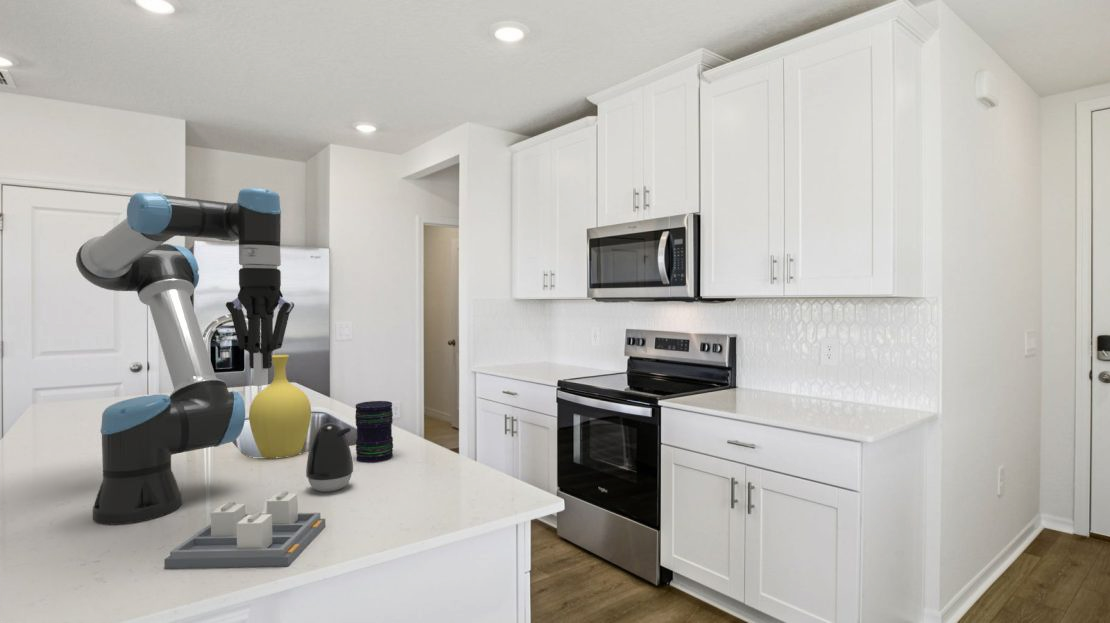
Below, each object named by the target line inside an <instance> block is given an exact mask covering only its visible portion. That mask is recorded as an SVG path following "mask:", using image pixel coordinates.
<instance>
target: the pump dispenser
mask: <svg viewBox="0 0 1110 623" xmlns="http://www.w3.org/2000/svg"><path fill="white" fill-rule="evenodd" d="M351 431H352V429H351V428H350V426H349V427H345V428H341V427H340V426H339V425H338V424H336V423H333V422H331V423H330V422H328V423H325V424H323V425H321V426H320V427H319V428H318V429H317V430H316V433H315V434H314V436H313V438H312V442H311V445H310V447H309V452H308V455H307V460H306V468H305V476H306V478H307V480H308V483H309V485H310V486H311V487H312V488H313V489H314V490H315V491H318V492H321V493H331V492H336V491H339V490H341V489H344V487H346V486H347V485H348V483H349V482H350V480H351V477H352V474H353V472H354V464H353V458H352V452H351V448H350V445H349V441H348V439H347V437H346V434H348V433H350V432H351Z"/></svg>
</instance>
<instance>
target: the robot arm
mask: <svg viewBox="0 0 1110 623" xmlns="http://www.w3.org/2000/svg"><path fill="white" fill-rule="evenodd" d="M281 213H282V210H281V199H280V195H279V193H277V192H276V191H274V190H272V189H271V190H270V189H265V188H255V187H254V188H250V187H249V188H242V189H240V190H239V192H238V196H237V200H236V202H226V201H225V202H223V201H215V200H206V199H197V198H189V197H182V196H177V195H176V196H175V195H166V194H161V193H156V192H154V193H149V192H148V193H147V192H136V193H134V194H132V196H130V198H129V201H128V202H127V207H126V218H125V219H123V221H121V222H120V223H118V224H117V225H116V226H115V227H113V228H112V229H110V230H109V231H108V232H106V233H105V234H104V235H99V236H95V237H91V238H90V239H88V240H86V241H85V242H84V243H83V244H82V245H81V246H80V247H79V249H78V251H77V253H76V258H75V263H76V267H77V269H78V271H79V273H80V274H81V275H82V277H83V278H84V279H86V280H87V281H88V282H90V283H91V284H93V285H95V286H97V287H99V288H101V289H104V290H108V291H115V292H137V297H138V300H139V301H140V302H141V303H142V304H144V305H145V306H149V310H150V313H151V314H150V315H151V317H152V320H153V323H154V327H155V329H156V334H157V337H158V340H159V344H160V346H161V347H160V348H161V349H162V352H163V357H164V360H165V363H166V367H167V370H168V373H169V377H170V381H171V384H172V388H173V391H172V392H171V393H170V395H168V394H161V393H160V394H151V395H141V396H138V397H137V396H136V397H132V398H129V399H123V400H121V401H118V402H115V403H113V404H111V405H108V406H107V407H106V408H105V409H104V411H103V412H102V414H101V415H102V416H101V427H100V434H101V453H102V454H101V455H102V457H101V458H102V459H101V460H102V482H101V484H100V486H99V490H98V493H97V495H96V498H95V501H94V504H93V506H92V520H93V522H95V523H97V524H102V525H123V524H130V523H137V522H143V521H146V520H147V521H148V520H151V519H155V518H160V517H162V516H165V515H167V514H170V513H172V512H174V511H176V510H178V509H179V508H180V507H182V506H181V505H182V503H183V502H182V501H183V500H182V499H183V498H182V491H181V490H180V487H179V485H178V483H177V480H176V477H175V475H174V472H173V469H172V456H173V455H176V454H181V453H187V452H193V451H197V450H203V449H207V448H212V447H215V448H216V447H217V448H218V447H220V446H221V445H226V444H229V443H232V442H235V441H236V440H237V439H238V438H239V437H240V436H241V433H242V432H243V429H244V427H245V426H244V425H245V422H246V405H245V402H244V398H243V396H242V395H241V394H240V392H238V391H232V390H231V391H229V389H228V387H227V384H226V381H224V380H222V379H219V378H218V377H217V376H216V373H215V371H214V368H213V364H212V361H211V358H210V355H209V352H208V348H207V345H206V343H205V340H204V337H203V336H204V335H203V333H202V331H201V327H200V324H199V322H198V318H197V315H196V312H195V309H194V306H193V303H192V300H191V297H192V295H193V294H194V293H195V289H196V288H197V286H198V284H199V280H200V274H199V270H200V268H199V264H198V262H197V259H196V257H195V255H194V254H193V253H192V251H190V250H189V249H188V248H186V247H184V246H181V245H174V244H173V245H172V244H169V243H165V242H167V241H169V240H170V239H173V238H174V237H177V236H178V237H192V238H206V239H215V240H219V241H228V242H234V241H238V264H239V265H240V266H242V267H241V268H239V270H238V286H239V291H238V293H237V297H236V298H235V299H233V300H232V301H227V302H226V303H225V306H226V307H225V308H227V310H228V311H229V313H230V315H231V320H232V323H233V327H234V331H235V335H236V339H237V340H236V341H237V343H238V348H239V349H240V350H244V351H246V352H248V354H249V357H248V358H249V368H250V369H253V386H254V387H261V386H265V385H268V384H269V370H268V369H271V368H272V366H273V362H272V355H273V351H274V352H275V351H276V350H278V349H279V350H280V349H282V347H283V342H284V338H285V334H286V329H287V324H288V321H289V316H290V314H291V312H292V310H293V309H294V307H295V304H294V302H292V301H291V302H289V301H288V300H286V299H285V298H284V297H283V296H284V295H283V293H282V292H281V285H282V281H281V280H282V276H281V275H282V272H281V270H280V268H279V269H278V267H280V266H281V265H282V264H281V263H282V260H281V259H282V256H281V228H282V227H281V226H282V225H281V223H282V222H281V221H282V220H281V219H282V216H281V215H282V214H281ZM243 308H244V310H246V318H247V322H246V318H245V313H244V310H243ZM277 308H278V309H279V310H278V312H277V316H276V318H275V322H274V321H273V320H274V317H275V312H274V311H275V310H276V309H277ZM273 323H275V324H274V325H273Z"/></svg>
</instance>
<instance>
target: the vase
mask: <svg viewBox="0 0 1110 623" xmlns="http://www.w3.org/2000/svg"><path fill="white" fill-rule="evenodd" d="M289 357H290V355H289V354H272V366H273V370H274V371H273V373H274V375H273V380H272V381H271V383H270V384H269V385H268V386H266V387H265V388H263V389H262V390H261V391H259V392H258V393H257V394H256V395H255V397H254V398H253V399H252V401H251V404H250V405H249V406H250V408H249V411H248V421H249V427H250V430H251V434H252V437H253V439H254V443H255V446H256V447H257V449H258V452H259V454H260V456H261V457H262V458H263V459H264V458H265V459H271V458H273V459H277V458H276V457H285V458H287V457H286V456H291V457H294V456H297V455H300V454H301V453H302V450H303V448H304V446H305V442H306V438H307V436H308V433H309V430H310V425H311V420H312V419H311V418H312V407H311V402H310V400H309V398H308V396H307V395H306V393H305V392H304V391H303V390H302V389H300V388H299V387H297V386H295V385H293V383H291V382H290V381H289V380H288V379H287V374H286V366H287V362H288V360H289ZM293 455H294V456H293Z"/></svg>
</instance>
